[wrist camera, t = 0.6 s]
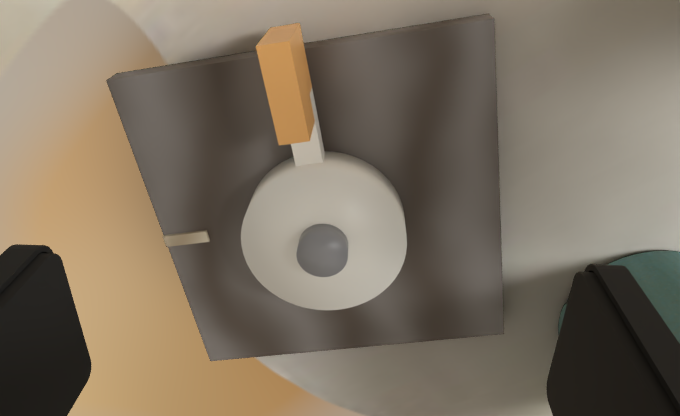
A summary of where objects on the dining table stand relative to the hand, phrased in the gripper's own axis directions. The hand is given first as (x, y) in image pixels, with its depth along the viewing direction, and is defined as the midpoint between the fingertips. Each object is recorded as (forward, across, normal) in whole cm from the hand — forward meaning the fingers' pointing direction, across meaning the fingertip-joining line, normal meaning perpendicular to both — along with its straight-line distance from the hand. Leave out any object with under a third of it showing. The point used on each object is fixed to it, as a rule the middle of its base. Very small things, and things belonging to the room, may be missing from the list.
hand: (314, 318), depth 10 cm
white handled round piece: (+23, +2, +8) cm, 24 cm away
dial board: (+24, +2, +11) cm, 27 cm away
